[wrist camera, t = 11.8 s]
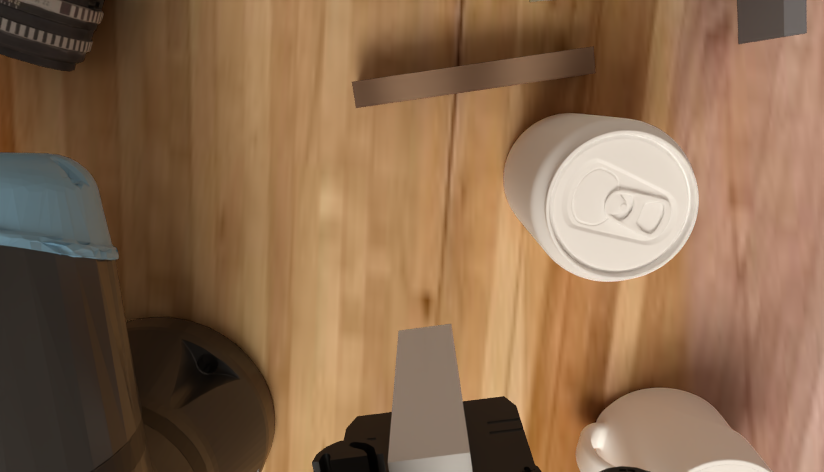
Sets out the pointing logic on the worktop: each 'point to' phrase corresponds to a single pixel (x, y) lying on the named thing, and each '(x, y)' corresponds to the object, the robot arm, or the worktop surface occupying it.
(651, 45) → the worktop surface
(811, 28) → the worktop surface
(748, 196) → the worktop surface
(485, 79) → the pair of brown rails
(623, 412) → the mug
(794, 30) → the bar
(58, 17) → the camera
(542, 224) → the beverage can
